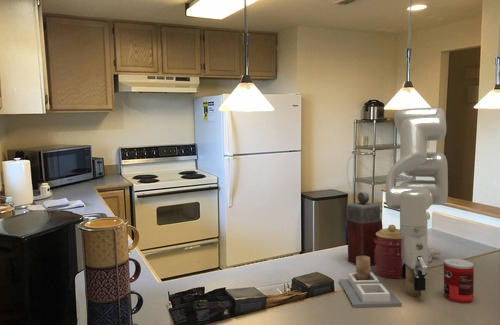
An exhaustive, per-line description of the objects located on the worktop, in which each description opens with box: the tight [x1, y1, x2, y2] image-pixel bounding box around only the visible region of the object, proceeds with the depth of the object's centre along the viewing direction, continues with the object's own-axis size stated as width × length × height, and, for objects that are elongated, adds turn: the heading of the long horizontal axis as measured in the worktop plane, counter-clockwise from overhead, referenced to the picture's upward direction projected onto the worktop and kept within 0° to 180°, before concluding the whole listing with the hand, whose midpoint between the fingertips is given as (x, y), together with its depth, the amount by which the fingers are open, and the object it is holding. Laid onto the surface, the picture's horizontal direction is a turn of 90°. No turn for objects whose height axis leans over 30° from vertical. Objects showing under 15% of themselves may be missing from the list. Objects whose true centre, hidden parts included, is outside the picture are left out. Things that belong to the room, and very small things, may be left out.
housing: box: [338, 271, 402, 308], centre depth 124 cm, size 14×20×4 cm
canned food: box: [443, 258, 475, 304], centre depth 118 cm, size 8×8×11 cm
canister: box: [373, 224, 404, 279], centre depth 141 cm, size 13×13×18 cm
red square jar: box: [346, 191, 384, 267], centre depth 153 cm, size 9×11×28 cm
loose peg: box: [405, 265, 422, 297], centre depth 122 cm, size 4×4×9 cm
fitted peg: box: [355, 256, 371, 281], centre depth 129 cm, size 4×4×9 cm
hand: (413, 284), depth 122 cm, fingers open, 9 cm apart
